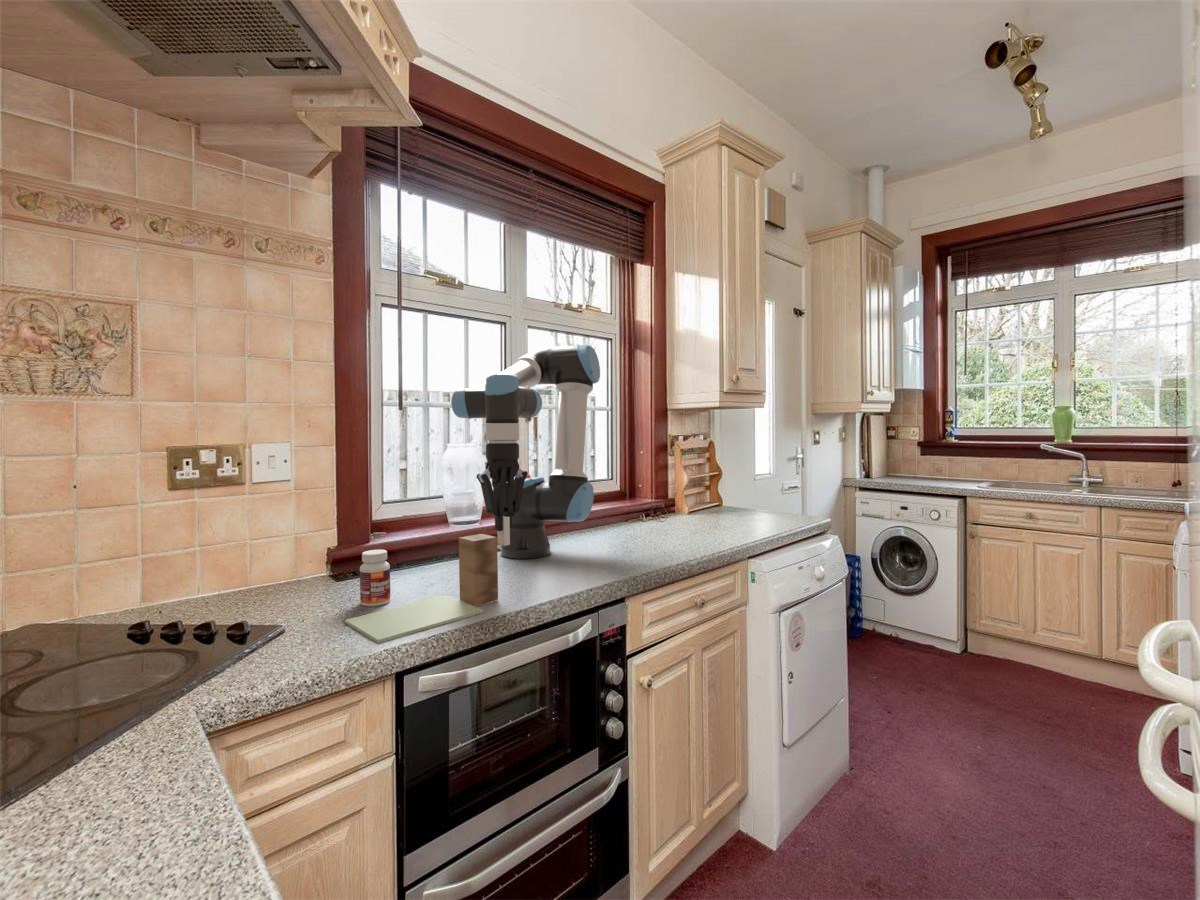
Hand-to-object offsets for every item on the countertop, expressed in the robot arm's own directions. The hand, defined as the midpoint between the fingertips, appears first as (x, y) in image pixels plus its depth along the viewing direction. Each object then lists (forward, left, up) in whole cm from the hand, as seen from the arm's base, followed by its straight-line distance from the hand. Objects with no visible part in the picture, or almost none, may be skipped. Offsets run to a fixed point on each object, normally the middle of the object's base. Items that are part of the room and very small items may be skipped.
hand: (503, 544), depth 125 cm
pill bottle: (+23, -16, -12) cm, 30 cm away
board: (+22, 0, -12) cm, 25 cm away
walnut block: (+7, 0, -12) cm, 13 cm away
